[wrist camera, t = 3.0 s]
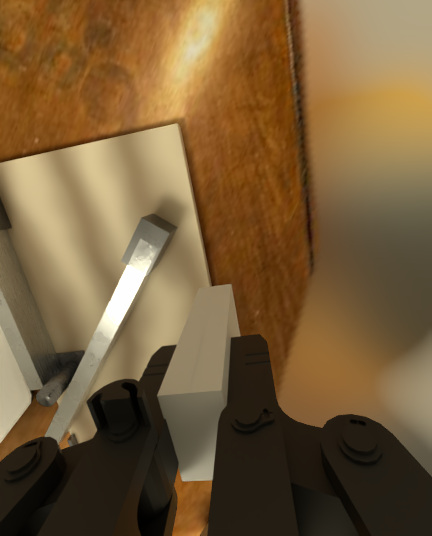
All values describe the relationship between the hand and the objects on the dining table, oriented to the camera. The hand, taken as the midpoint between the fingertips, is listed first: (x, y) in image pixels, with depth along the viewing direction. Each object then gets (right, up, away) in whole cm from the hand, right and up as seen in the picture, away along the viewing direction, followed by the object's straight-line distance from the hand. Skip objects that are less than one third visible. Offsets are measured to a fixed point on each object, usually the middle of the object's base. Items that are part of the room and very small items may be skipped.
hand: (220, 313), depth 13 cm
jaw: (-11, -5, +15) cm, 19 cm away
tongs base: (-17, -6, +16) cm, 24 cm away
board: (-10, -5, +16) cm, 19 cm away
